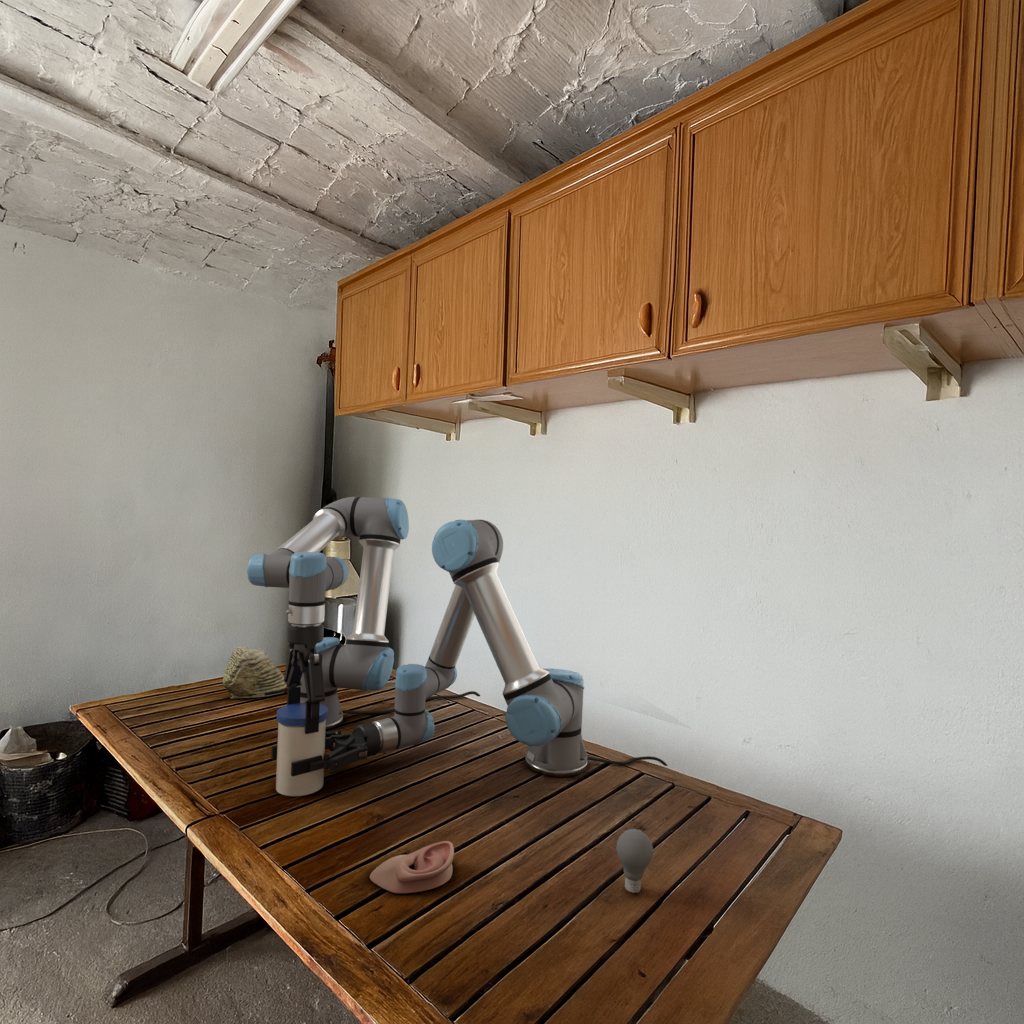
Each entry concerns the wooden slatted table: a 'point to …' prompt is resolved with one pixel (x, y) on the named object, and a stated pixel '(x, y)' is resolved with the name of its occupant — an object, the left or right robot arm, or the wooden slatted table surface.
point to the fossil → (252, 674)
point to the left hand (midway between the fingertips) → (302, 724)
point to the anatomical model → (416, 869)
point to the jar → (298, 759)
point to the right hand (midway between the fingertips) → (281, 761)
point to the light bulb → (634, 857)
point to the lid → (298, 714)
